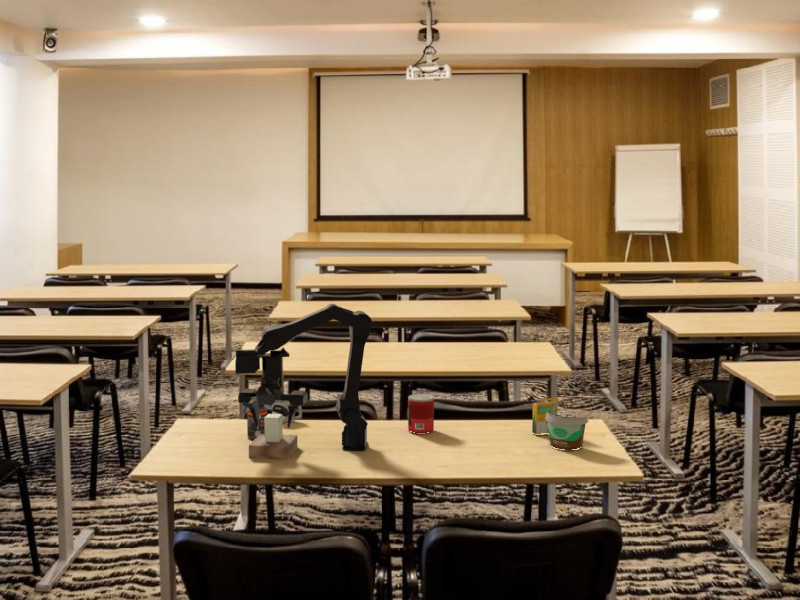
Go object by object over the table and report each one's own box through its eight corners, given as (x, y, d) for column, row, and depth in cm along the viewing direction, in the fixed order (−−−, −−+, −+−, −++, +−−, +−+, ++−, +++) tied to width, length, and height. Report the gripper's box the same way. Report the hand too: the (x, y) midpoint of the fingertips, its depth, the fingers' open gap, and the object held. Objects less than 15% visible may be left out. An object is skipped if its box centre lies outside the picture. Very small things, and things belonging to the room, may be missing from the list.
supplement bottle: (263, 440, 232) (262, 403, 231) (244, 439, 234) (243, 402, 232) (270, 434, 238) (269, 398, 237) (252, 433, 239) (251, 397, 238)
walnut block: (297, 448, 227) (297, 435, 226) (287, 461, 216) (287, 447, 215) (260, 447, 228) (260, 433, 227) (248, 459, 217) (248, 445, 217)
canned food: (438, 432, 242) (438, 397, 241) (417, 436, 238) (417, 401, 236) (424, 426, 249) (424, 392, 247) (403, 430, 244) (403, 395, 243)
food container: (541, 449, 226) (542, 416, 225) (544, 443, 232) (545, 410, 230) (584, 454, 222) (585, 420, 220) (587, 448, 227) (588, 414, 226)
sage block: (282, 438, 223) (282, 414, 222) (278, 442, 219) (278, 417, 218) (269, 437, 224) (268, 413, 223) (265, 441, 220) (264, 417, 219)
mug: (268, 423, 251) (268, 402, 250) (276, 417, 257) (276, 397, 256) (298, 425, 249) (298, 404, 248) (305, 419, 255) (305, 399, 254)
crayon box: (552, 431, 244) (553, 395, 242) (557, 434, 241) (558, 397, 239) (531, 433, 241) (532, 397, 240) (536, 436, 238) (537, 399, 237)
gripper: (230, 377, 212) (231, 433, 214) (297, 380, 210) (298, 436, 212) (244, 368, 223) (245, 422, 225) (307, 371, 221) (308, 425, 223)
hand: (273, 426), depth 221 cm, fingers open, 9 cm apart
